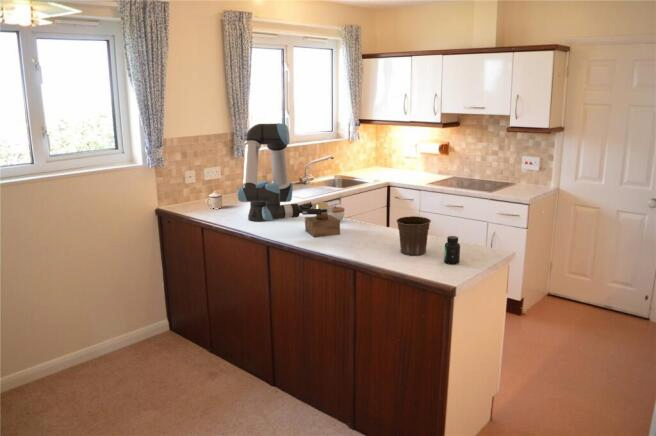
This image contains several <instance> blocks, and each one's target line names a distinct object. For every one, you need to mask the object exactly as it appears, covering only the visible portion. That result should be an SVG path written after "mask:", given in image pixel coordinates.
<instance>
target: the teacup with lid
mask: <svg viewBox="0 0 656 436" xmlns="http://www.w3.org/2000/svg"><path fill="white" fill-rule="evenodd" d="M208 201H209V202H208ZM208 203H209V204H208ZM205 204H206V205H207V206H208V207H209V209H210V208H220V207H222V206H223V195H222V193H220V192H217V191H216V190H214V191H213V192H212V193H211V194H208V198H207V199H205ZM222 208H223V207H222Z"/></svg>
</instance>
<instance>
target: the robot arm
mask: <svg viewBox="0 0 656 436" xmlns="http://www.w3.org/2000/svg"><path fill="white" fill-rule="evenodd" d="M289 132H290V131H289V127H288V126H287V125H286V123H280V122H279V123H258V124H255V125H252V127H250V128H249V130H248V131H247V132H246V134H245V137H244V139H243V147H244V157H243V159H244V160H243V171H242V186H241V187H238V188H237V200H238V202H241V203H249V205H250V207H249V211H248V213H247V214H248V215H247V219H248V221H251V222H266V221H275V220H282V219H284V220H287V219H293V218H299V217H300V214H301V215H303V216H306V215H311V216H312V215H313V216H314V215H315V216H316V215H321V213H330V212H332V207H333V206H328V208H321V209H316V203H317V202H314V203H313V202H311V201H309V202H306V203H302V204H298V203H291V201H292V199H293V198H292V197H293V191H294V190H293V187H294V183H293V182H291V180H290V179H289V178H288V167H287V157H286V148H287V147H288V145H289V144H290V139H291V137H290V133H289ZM262 145H265V146H266V147H267V149H268V150H269V152H270V153H269V154H270V159H271V160H270V161H271V162H270V163H271V169H272V170H271V171H272V172H271V173H272V180H271V182H269V180H260V181H258V168H259V152H260V151H259V150H260V149H261V146H262ZM289 202H290V203H289ZM281 203H284V204H281ZM285 203H288V204H285Z"/></svg>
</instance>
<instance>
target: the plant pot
mask: <svg viewBox="0 0 656 436" xmlns="http://www.w3.org/2000/svg"><path fill="white" fill-rule="evenodd" d="M431 222H432V221H431V219H430V218H428V217H424V216H410V215H409V216H403V217H399V218H397V219H396V223H397V229H398V233H399V244H400V253H402V254H404V255H405V256H408V255H409V256H410V257H411V256H412V257H413V256H414V257H415V256H416V257H418V256H422V255H424V254H426V252H427V244H428V235H429V229H430V226H431V225H430V224H431Z"/></svg>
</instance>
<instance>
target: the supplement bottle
mask: <svg viewBox="0 0 656 436" xmlns="http://www.w3.org/2000/svg"><path fill="white" fill-rule="evenodd" d="M446 239H447V240H446V241H447V242H445V243H444V254H443V255H444V256H443V257H444V259H443V261H444V263H445V264H446V265H451V266H452V265H458V264H460V261H461V260H460V259H461V257H460V256H461V244H460V243H459V237H458V236H455V235H448V236H447V237H446Z"/></svg>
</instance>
